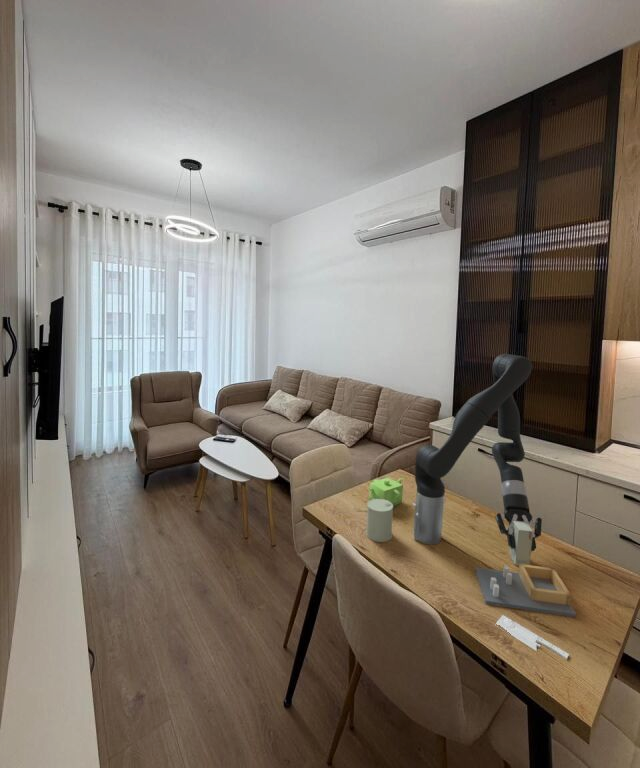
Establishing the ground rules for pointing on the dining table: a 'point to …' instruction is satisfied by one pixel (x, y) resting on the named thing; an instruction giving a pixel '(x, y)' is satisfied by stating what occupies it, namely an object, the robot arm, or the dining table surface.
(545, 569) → the board
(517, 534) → the skincare box
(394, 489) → the teapot
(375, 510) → the can
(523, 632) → the white plastic strip tool
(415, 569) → the dining table surface
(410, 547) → the dining table surface
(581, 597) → the dining table surface
